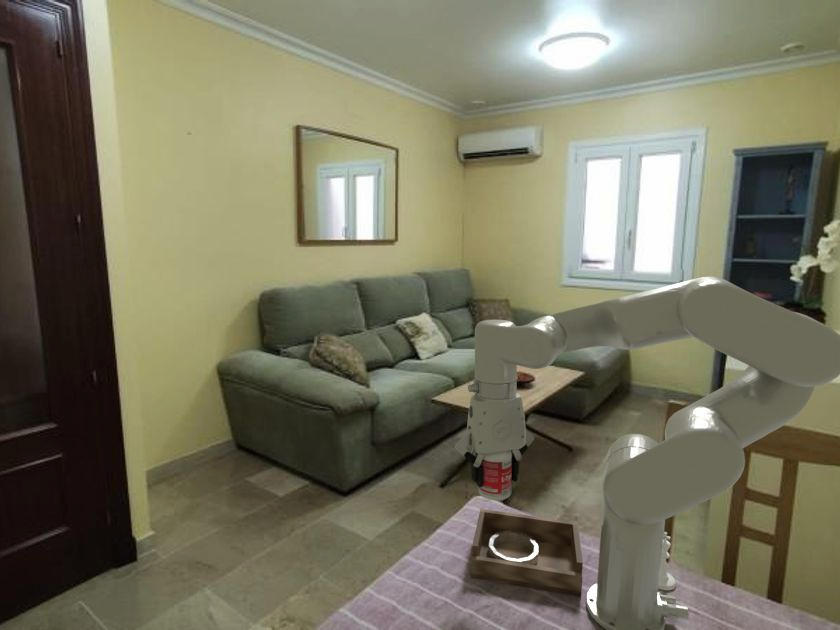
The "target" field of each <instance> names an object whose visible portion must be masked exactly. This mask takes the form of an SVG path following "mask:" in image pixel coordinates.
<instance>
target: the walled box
mask: <svg viewBox="0 0 840 630" xmlns="http://www.w3.org/2000/svg"><path fill="white" fill-rule="evenodd" d="M578 525H579V524H578V522H576V521H570V520H569V521H568V520H563V519H555V518H549V517H541V516H540V517H539V516H533V515H528V514H527V515H526V514H518V513H513V512H512V513H510V512H505V511H498V510H491V509H483V508H480V510H479V513H478V519H477V522H476V528H475V533H474V536H473V541H472V547H471V551H472V552H471V559H470V560H471V561H470V562H471V563H470V564H471V565H470V578H471V579H475V580H476V579H477V580H483V581H488V582H493V583H494V582H495V583H498V584H499V583H501V584H504V585H505V584H506V585H511V586H512V585H513V586H518V587H523V588H529V589H534V590H540V591H546V592H553V593H557V594H558V593H559V594H563V595H564V594H565V595H569V596H576V597H580V598H581V597H582V589H583V578H584V577H583V568H584V567H583V565H584V563H583V561H584V560H583V555H582V547H581V541H580V531H579V526H578ZM503 531H515V532H521V533H523V534H525V535H527V536H529V537H531V538H533V540H534V541H535V542H536V543H537V544H538V563H537V564H536V565H530V564H523V563H517V562H511V561H505V560H499V559H493V558H490V556H489V542H490V538H491V537H492V536H493V535H495V534H496V533H498V532H503ZM494 548H495V549H496V550H497V552H498V553H500V554H502V555H504V556H506V557H509V558H515V559H520V558H526V557H529V556H530V555H531V554H532V552H531V550H530V549H529V548H528V547H526V546H524V545H522V544H520V543H515V542H504V543H499V544H498V545H497V546H496V547H494Z"/></svg>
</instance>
